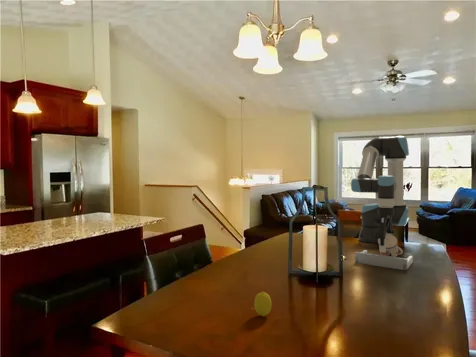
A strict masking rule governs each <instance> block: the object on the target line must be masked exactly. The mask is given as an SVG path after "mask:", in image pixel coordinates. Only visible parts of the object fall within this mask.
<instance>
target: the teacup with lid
mask: <svg viewBox="0 0 476 357" xmlns="http://www.w3.org/2000/svg"><path fill="white" fill-rule="evenodd" d="M385 239H386V252H379V255H383V256H391V257H397V256H400V255H402V254H403V253H404V252H403V251H404V250H403V249H402V248H401V247H400V246H398V242H399V241H398V238H396V236H394V235H393V234H392V235H390V234H386V236H385ZM377 244H378V245H379V239H378V243H377Z"/></svg>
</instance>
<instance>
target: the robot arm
mask: <svg viewBox="0 0 476 357" xmlns="http://www.w3.org/2000/svg"><path fill="white" fill-rule="evenodd" d="M409 152H410V151H409V144H408V139H407V137H406V136H404V135H397V136H396V135H395V136H394V135H393V136H377V137H375V138H372V139H371V140H370V141H368V142H367V143H366V144H365V145H364V147H363V149H362V151H361V155H362V158H361V162H360V166H359V169H358V173H357V176H356V178H352V179H351V183H350V188H351V191H352V192H354V193H360V194H361V193H373V194H374V193H375V194H376V193H377V199H376V202H375V203H365V204H364V205H361V206H362V207H361V212H360V213H361V229H360V232H359V235H358V241H361V242H363V243H364V242H365V243H370V244H371V243H373V244H374V243H375V244H378V239H379V244H378V247H379V249H378V250H379V251H378V252H379V253H380V252H386V239H385V236H386V234H390V235H393V234H395V231H394V228H393V226H397V227H399V226H401V227H403V226H406V225H407V222H408V216H409V209H410V208H409V207H408V206H407V203H406V202H405V200H404V162H405V160H406V159H407V156H409V155H410V153H409ZM379 157H384V160H386V162H387V175H379V176H377V178H373V175H374V170H375V167H376V166H375V165H376V162H377V159H378V158H379Z"/></svg>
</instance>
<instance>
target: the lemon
mask: <svg viewBox="0 0 476 357" xmlns="http://www.w3.org/2000/svg"><path fill="white" fill-rule="evenodd" d="M271 298H272V297H271V296H270V294H268V293H267V292H265V291H261V292H259V293H257V294H256V295H255V298H254V301H253V302H254V304H253V306H254V310H255V312H256V313H257V314H258V315H259V316H260V317H263V318H264V317H265V316H267V315H268V314H269V313H270V312H271V310H272V299H271Z"/></svg>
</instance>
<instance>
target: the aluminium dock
mask: <svg viewBox="0 0 476 357" xmlns="http://www.w3.org/2000/svg"><path fill="white" fill-rule="evenodd" d="M354 252H355V253H354V262H355V264H361V265H362V264H363V265H368V266H376V267H381V268H387V269H388V268H389V269H395V270H402V271H408V270H409V268H410V267H411V266H412V264H413V262H414V255H409V256H408V257H407V258H406V257H405V258H403V257H399V256H398V257H397V256H396V257H391V256H383V255H381V254H376V253H375V254H373V253H368V250H367V249H364V250H362V251H361V252H360V251H354Z"/></svg>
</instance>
